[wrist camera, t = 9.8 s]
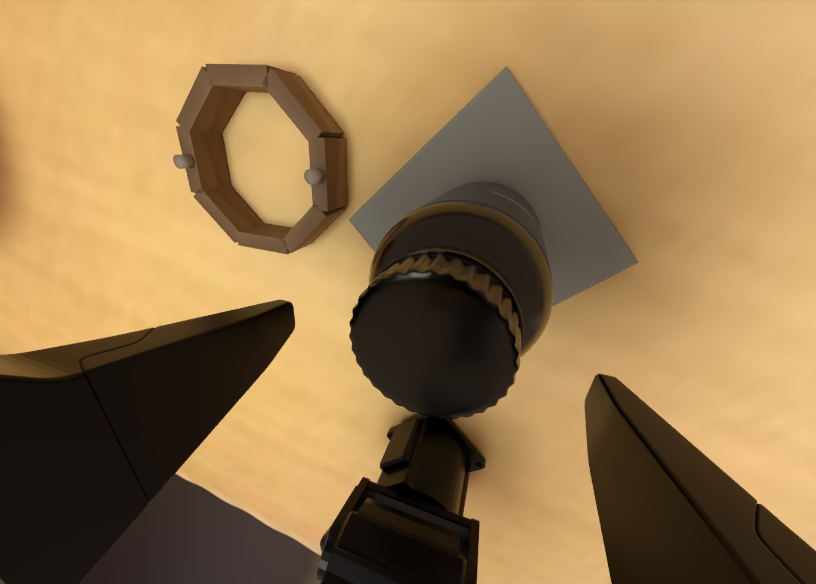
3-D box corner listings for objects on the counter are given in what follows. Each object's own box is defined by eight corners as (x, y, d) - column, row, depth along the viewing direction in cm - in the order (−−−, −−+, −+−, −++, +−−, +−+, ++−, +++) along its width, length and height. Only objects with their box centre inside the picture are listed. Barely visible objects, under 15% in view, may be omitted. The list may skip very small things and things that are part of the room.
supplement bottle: (554, 184, 16) (616, 253, 6) (526, 300, 19) (535, 478, 9) (427, 173, 18) (307, 212, 8) (419, 281, 21) (324, 413, 11)
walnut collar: (378, 176, 20) (354, 181, 17) (288, 266, 25) (258, 282, 22) (261, 28, 18) (214, 7, 15) (191, 156, 23) (146, 158, 21)
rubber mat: (634, 258, 17) (638, 262, 17) (459, 348, 23) (458, 353, 23) (506, 68, 16) (506, 66, 15) (352, 217, 21) (348, 219, 21)
